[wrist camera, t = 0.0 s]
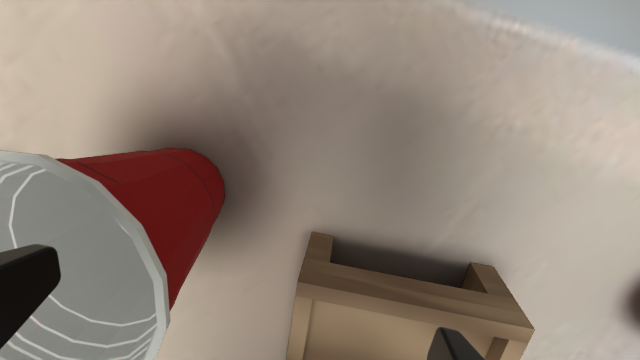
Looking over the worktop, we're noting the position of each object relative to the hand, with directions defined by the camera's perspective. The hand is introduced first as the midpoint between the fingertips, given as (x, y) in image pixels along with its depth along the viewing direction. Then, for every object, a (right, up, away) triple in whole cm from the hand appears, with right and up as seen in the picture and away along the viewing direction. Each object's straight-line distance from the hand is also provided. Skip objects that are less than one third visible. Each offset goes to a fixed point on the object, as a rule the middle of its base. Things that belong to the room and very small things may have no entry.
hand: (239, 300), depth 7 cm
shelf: (+7, -9, +18) cm, 21 cm away
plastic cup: (-8, +3, +16) cm, 18 cm away
